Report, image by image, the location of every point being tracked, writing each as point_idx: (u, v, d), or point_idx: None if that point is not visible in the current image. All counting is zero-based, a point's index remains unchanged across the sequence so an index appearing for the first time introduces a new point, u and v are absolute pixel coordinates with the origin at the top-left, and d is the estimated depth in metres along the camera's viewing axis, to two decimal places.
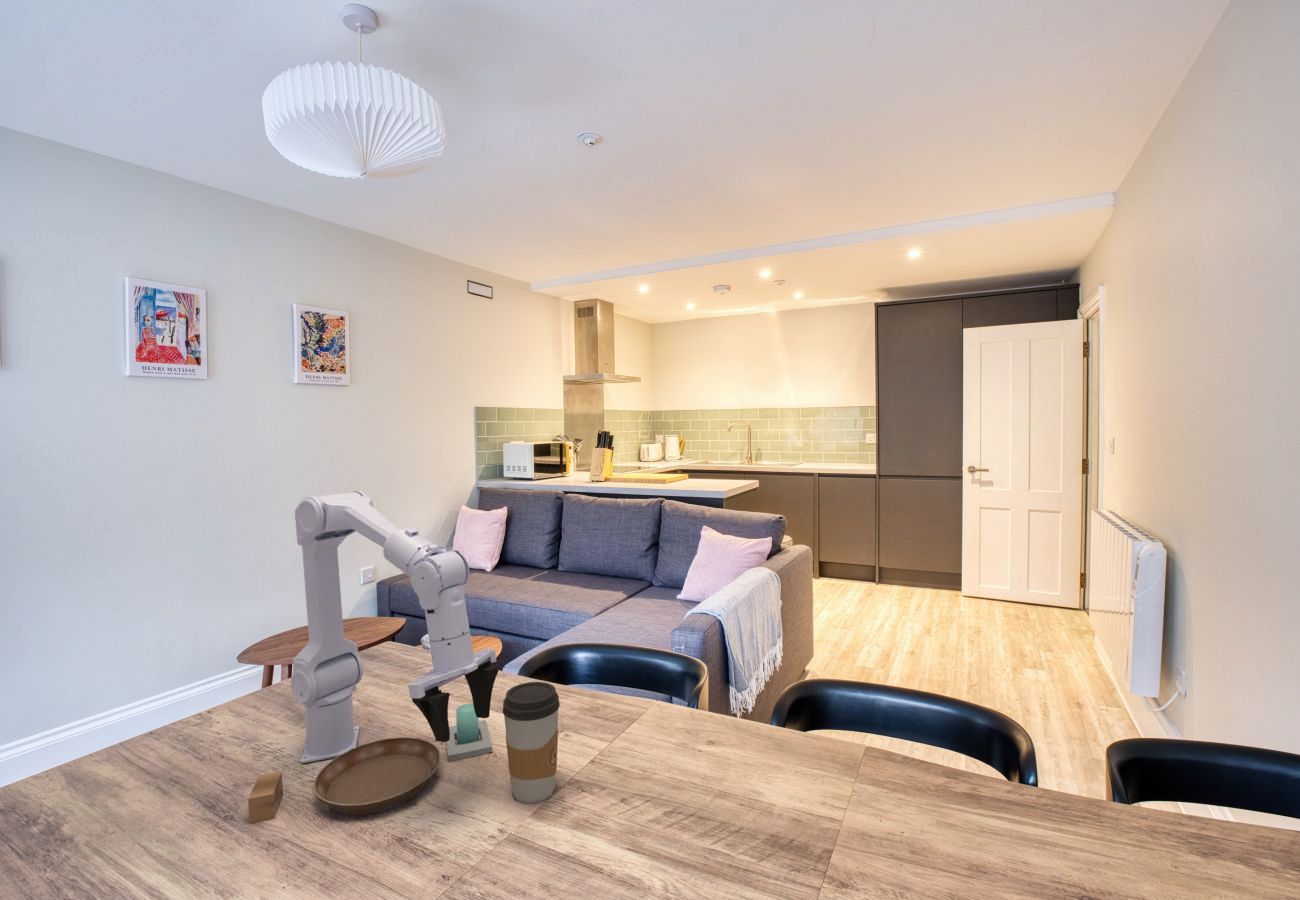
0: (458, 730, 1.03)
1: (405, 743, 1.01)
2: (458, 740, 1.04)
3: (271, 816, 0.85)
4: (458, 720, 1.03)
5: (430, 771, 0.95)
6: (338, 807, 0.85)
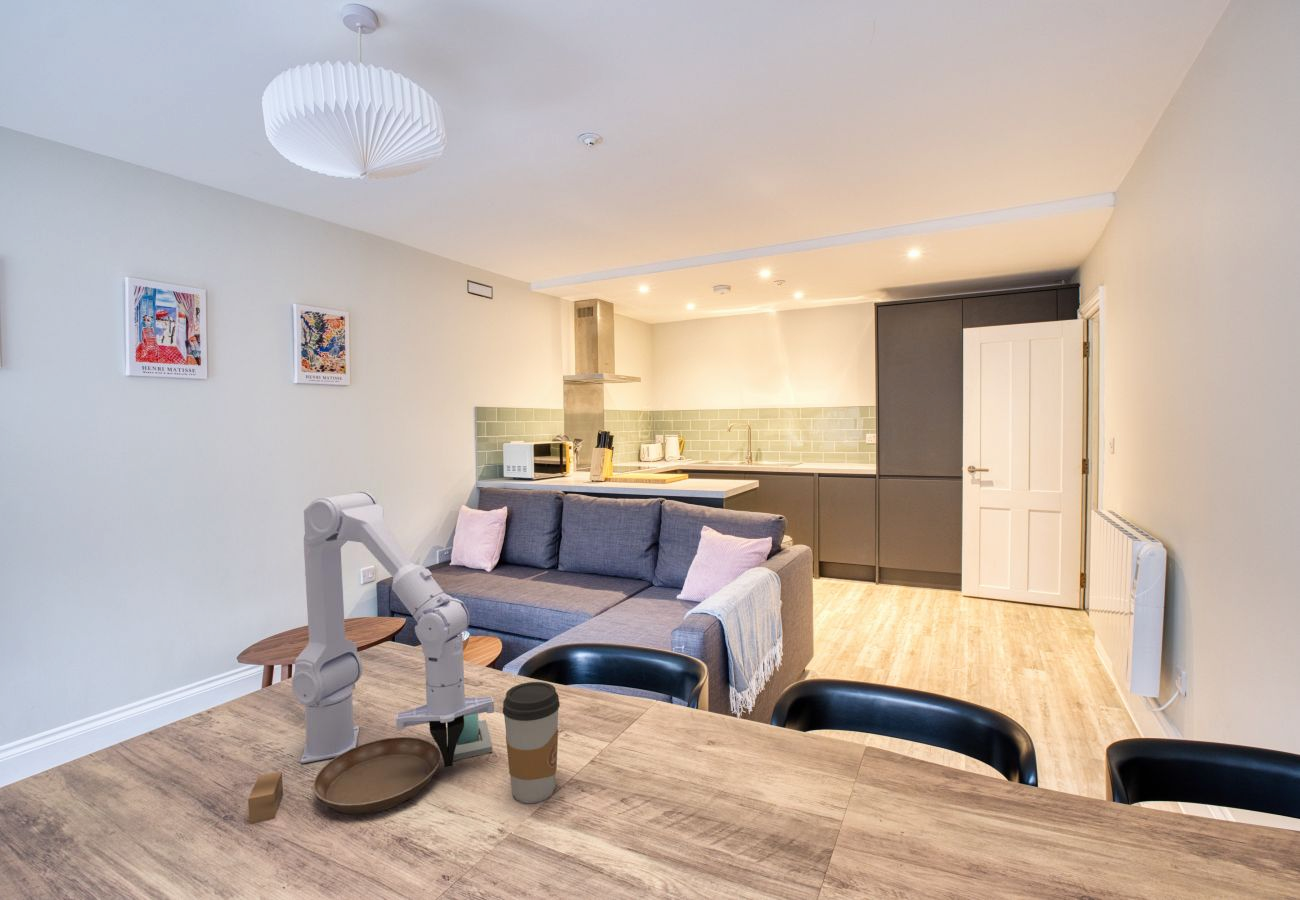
0: None
1: (405, 743, 1.01)
2: (458, 740, 1.04)
3: (271, 816, 0.85)
4: None
5: (430, 771, 0.95)
6: (338, 807, 0.85)
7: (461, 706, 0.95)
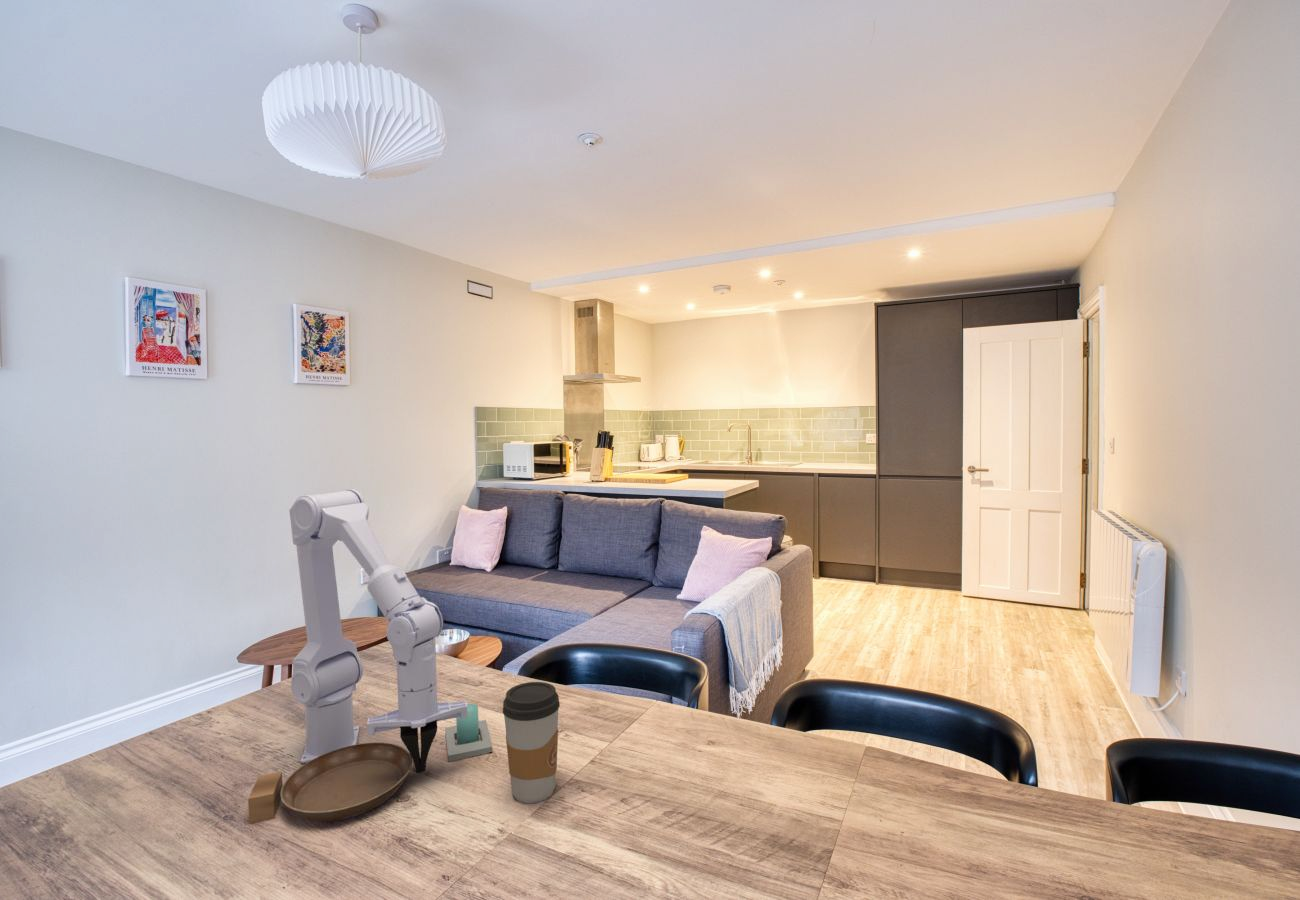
0: (458, 730, 1.03)
1: (378, 748, 1.00)
2: (458, 740, 1.04)
3: (271, 816, 0.85)
4: (458, 720, 1.03)
5: (401, 777, 0.94)
6: (303, 814, 0.83)
7: (433, 711, 0.94)
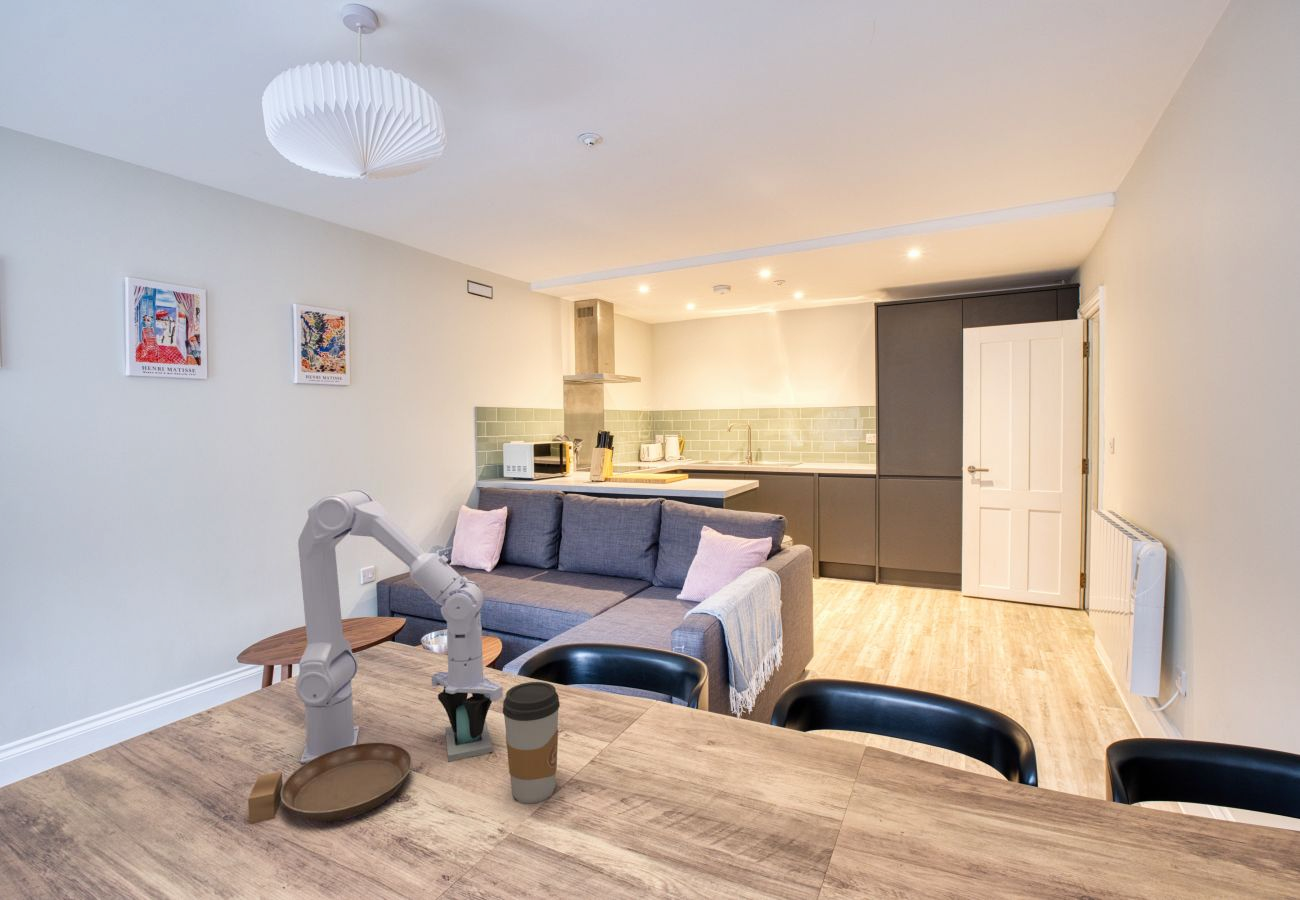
0: (458, 730, 1.03)
1: (378, 748, 1.00)
2: (458, 740, 1.04)
3: (271, 816, 0.85)
4: (458, 720, 1.03)
5: (401, 777, 0.94)
6: (303, 814, 0.83)
7: (468, 684, 1.02)
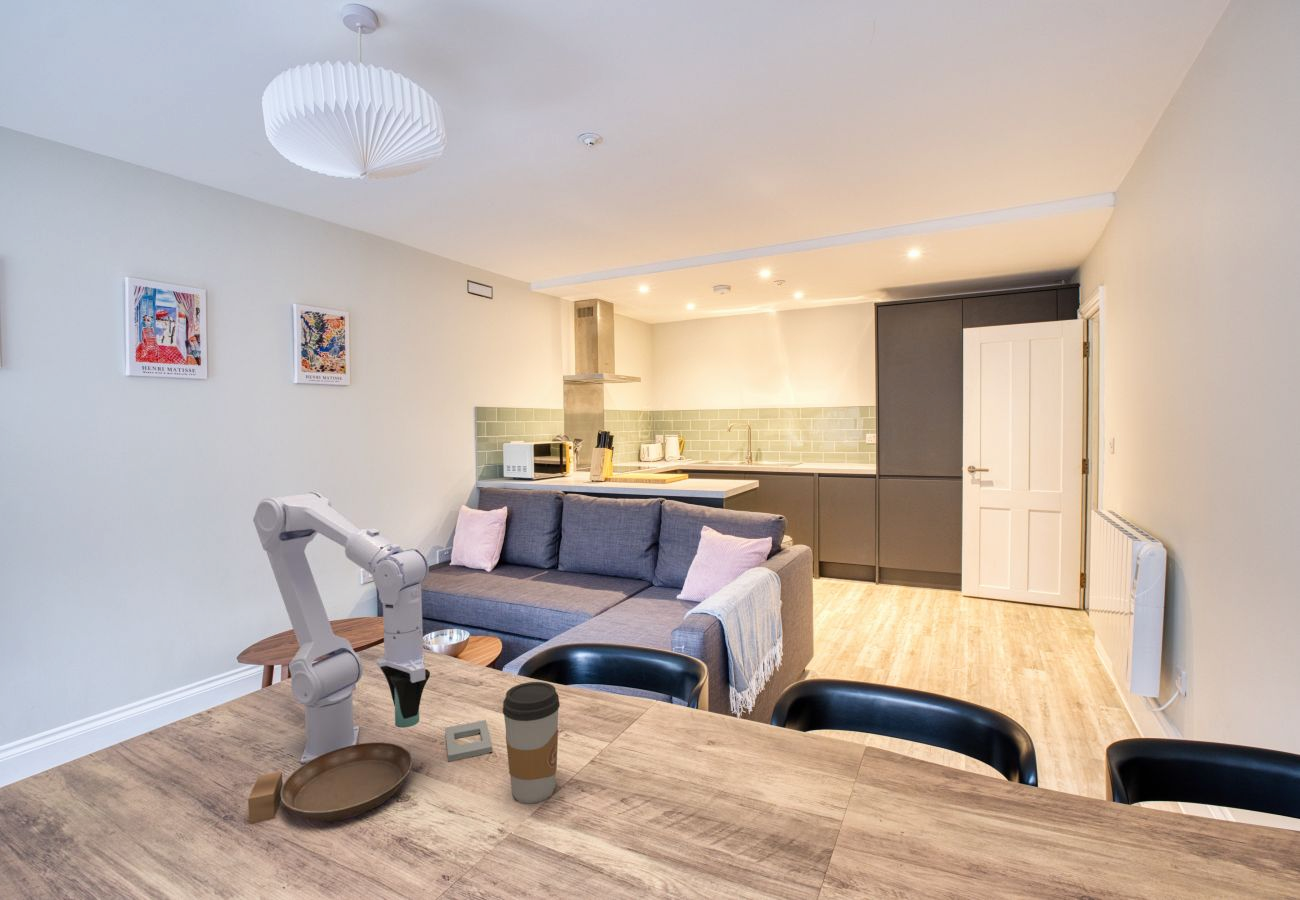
0: (395, 706, 0.96)
1: (378, 748, 1.00)
2: (395, 717, 0.97)
3: (271, 816, 0.85)
4: None
5: (401, 777, 0.94)
6: (303, 814, 0.83)
7: (396, 659, 0.94)
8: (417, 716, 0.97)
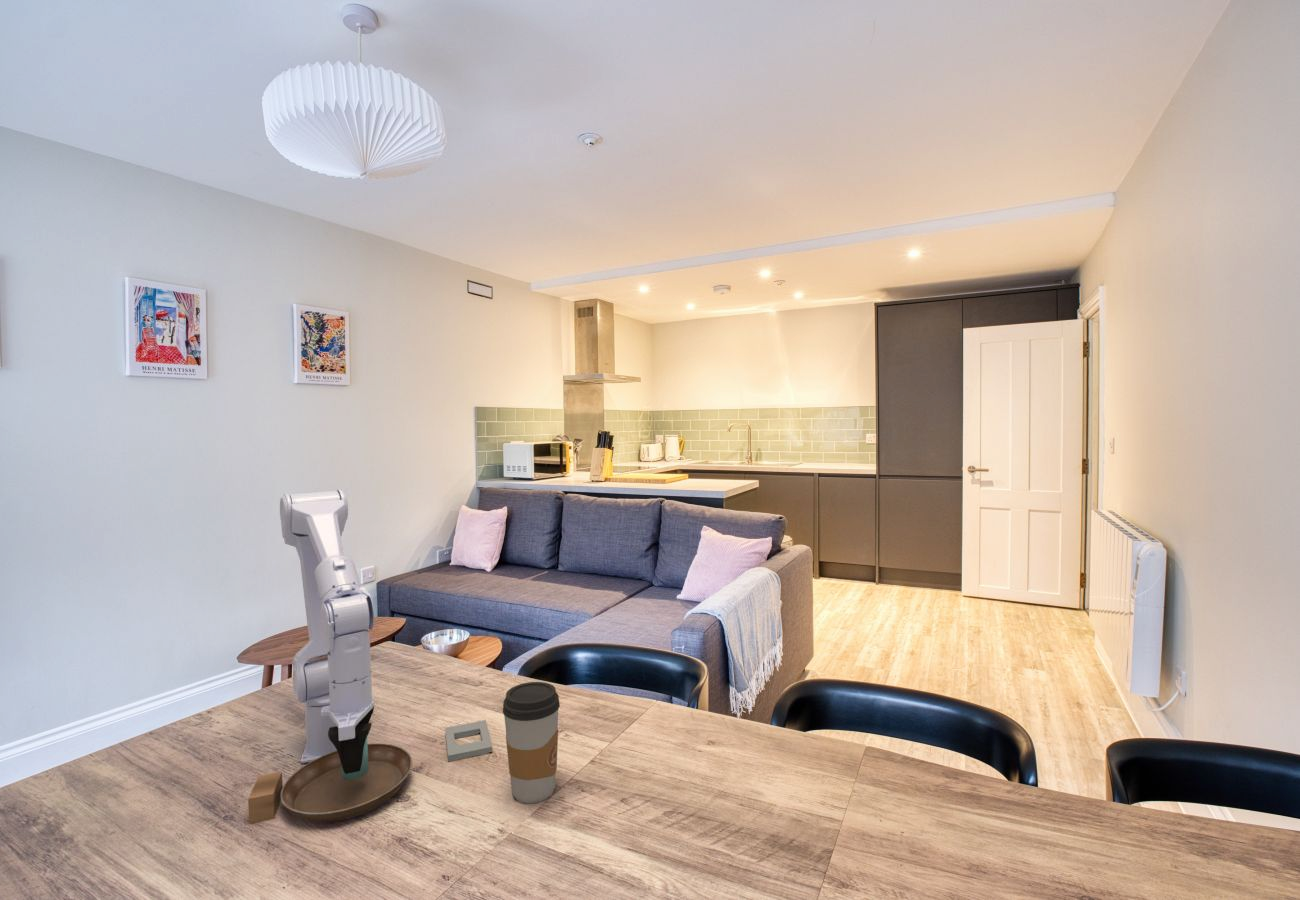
0: None
1: (378, 750, 1.00)
2: None
3: (271, 816, 0.85)
4: None
5: (401, 779, 0.94)
6: (303, 816, 0.83)
7: (336, 710, 0.88)
8: (363, 768, 0.91)
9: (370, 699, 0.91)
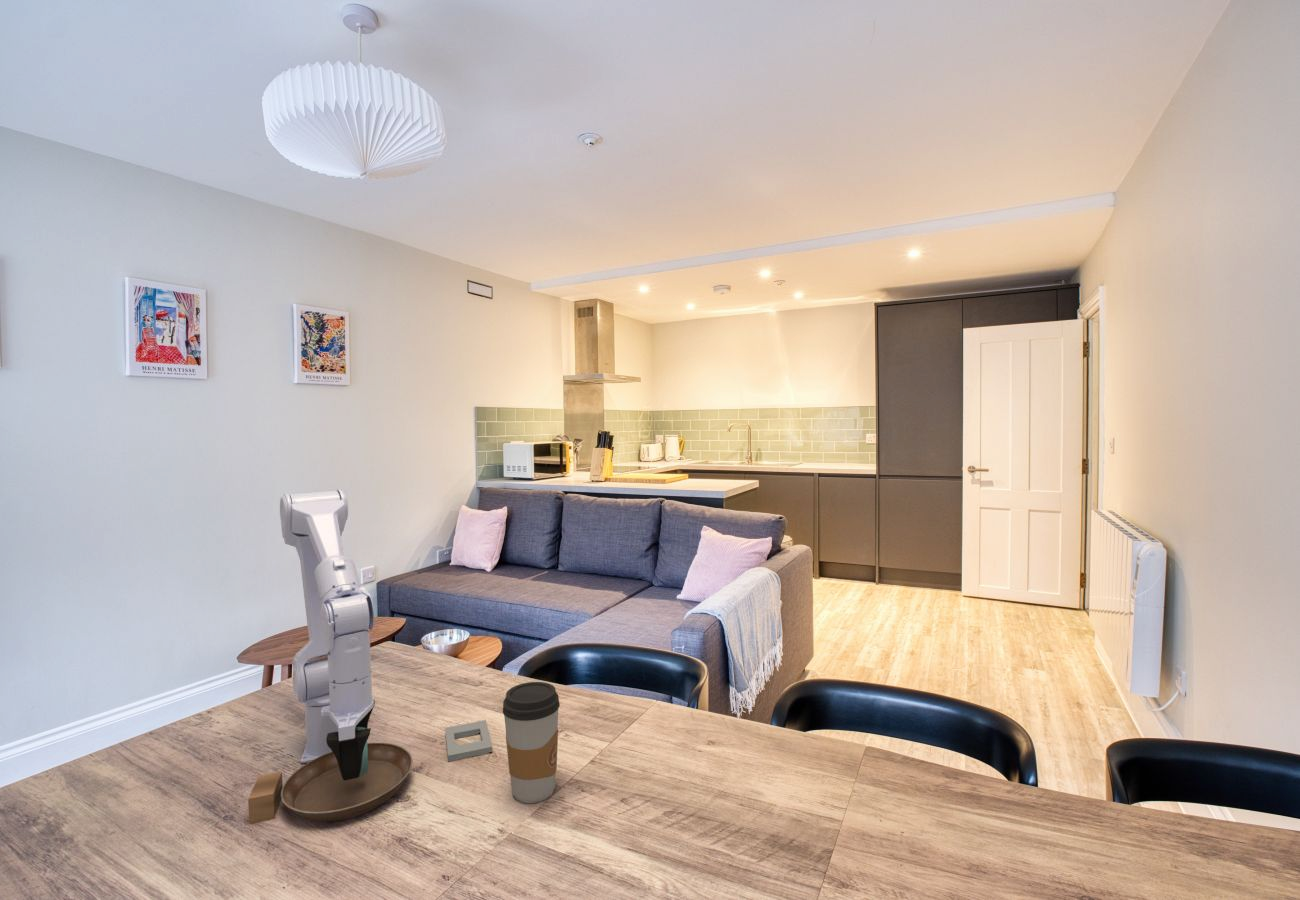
0: None
1: (379, 749, 1.00)
2: None
3: (271, 816, 0.85)
4: None
5: (401, 778, 0.94)
6: (303, 815, 0.83)
7: (336, 710, 0.88)
8: (363, 767, 0.91)
9: (370, 699, 0.91)
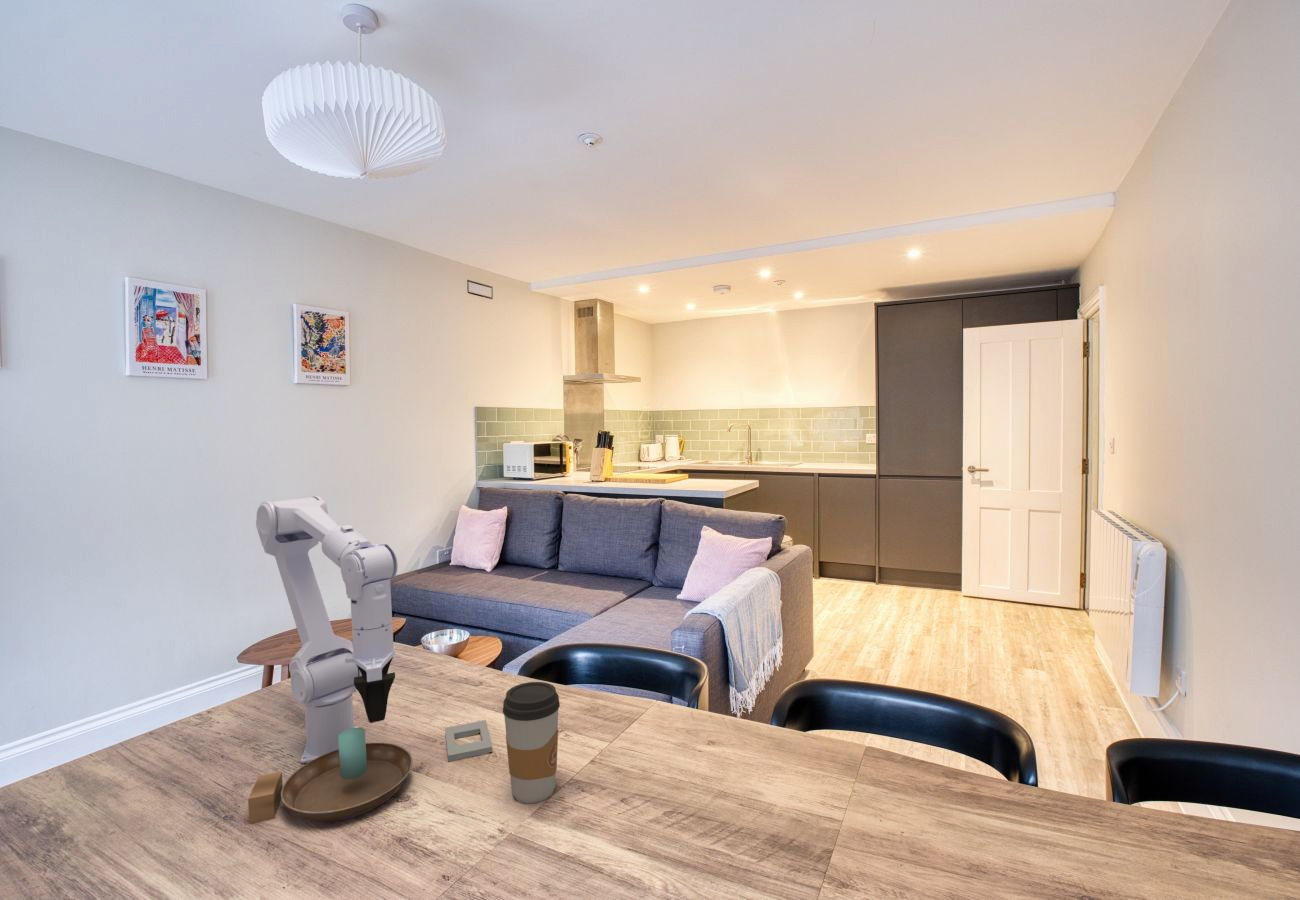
0: None
1: (379, 749, 1.00)
2: None
3: (271, 816, 0.85)
4: None
5: (401, 778, 0.94)
6: (303, 815, 0.83)
7: (360, 656, 0.92)
8: (362, 767, 0.91)
9: (392, 646, 0.95)
